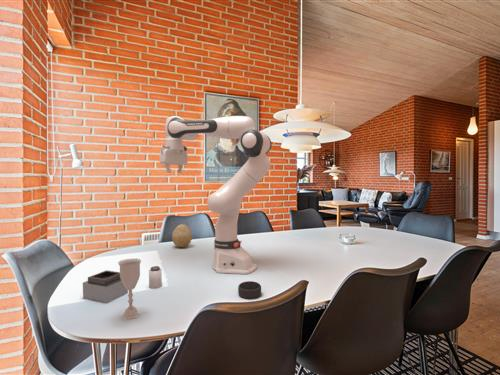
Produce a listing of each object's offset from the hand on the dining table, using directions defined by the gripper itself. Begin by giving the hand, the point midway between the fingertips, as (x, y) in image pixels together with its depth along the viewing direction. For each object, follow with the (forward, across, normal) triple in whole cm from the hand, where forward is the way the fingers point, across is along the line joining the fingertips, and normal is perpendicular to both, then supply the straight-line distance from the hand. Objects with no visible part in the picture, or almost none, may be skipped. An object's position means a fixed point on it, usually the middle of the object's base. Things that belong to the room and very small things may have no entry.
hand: (174, 172), depth 152 cm
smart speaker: (+48, -27, -54) cm, 77 cm away
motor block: (+48, -47, 0) cm, 67 cm away
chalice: (+48, -56, -23) cm, 77 cm away
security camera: (+48, -33, -14) cm, 60 cm away
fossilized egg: (+48, +27, +14) cm, 57 cm away
